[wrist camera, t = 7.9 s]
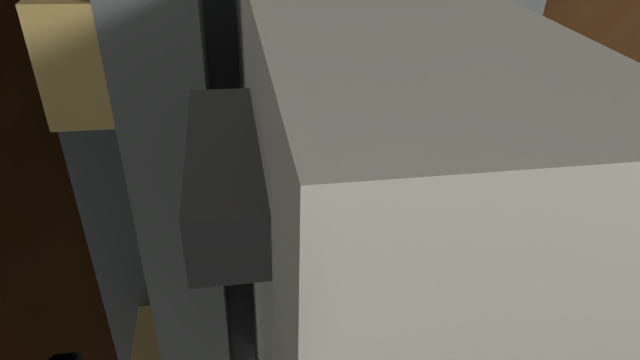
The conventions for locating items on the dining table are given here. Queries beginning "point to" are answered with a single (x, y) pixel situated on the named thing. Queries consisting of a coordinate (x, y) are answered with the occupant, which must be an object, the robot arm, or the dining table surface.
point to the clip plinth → (141, 158)
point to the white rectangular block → (420, 183)
